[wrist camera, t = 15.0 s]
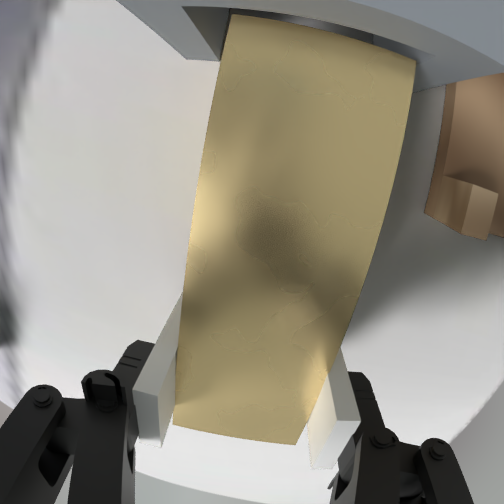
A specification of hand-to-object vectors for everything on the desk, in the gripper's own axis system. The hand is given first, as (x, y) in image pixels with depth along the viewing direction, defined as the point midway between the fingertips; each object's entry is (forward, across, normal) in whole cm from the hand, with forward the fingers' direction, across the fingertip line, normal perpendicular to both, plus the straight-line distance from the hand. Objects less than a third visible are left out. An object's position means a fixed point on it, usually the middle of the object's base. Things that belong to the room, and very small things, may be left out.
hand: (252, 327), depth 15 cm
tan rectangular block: (+1, 0, +4) cm, 4 cm away
